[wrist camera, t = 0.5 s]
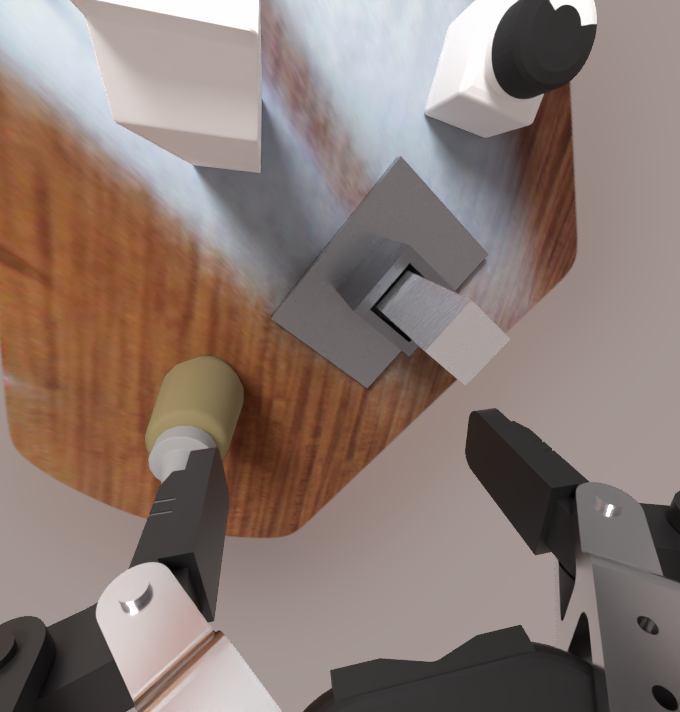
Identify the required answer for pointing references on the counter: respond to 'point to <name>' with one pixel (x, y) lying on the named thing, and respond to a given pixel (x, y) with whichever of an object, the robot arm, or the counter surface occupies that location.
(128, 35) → the milk
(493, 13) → the medicine bottle
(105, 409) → the counter surface
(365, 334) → the stand
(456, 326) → the column
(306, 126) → the counter surface
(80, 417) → the counter surface
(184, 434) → the squeeze bottle
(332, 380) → the counter surface
